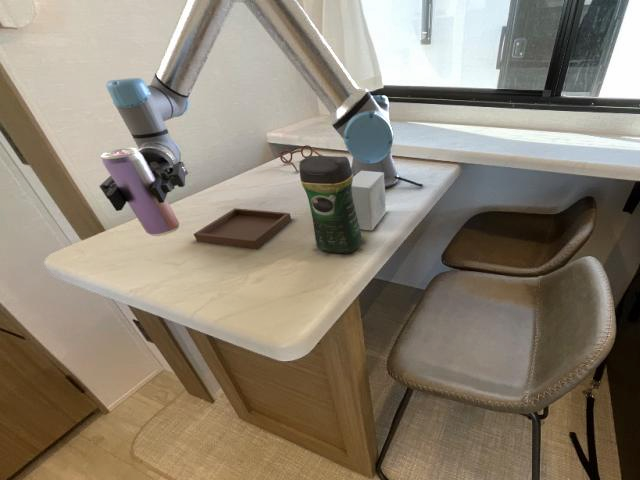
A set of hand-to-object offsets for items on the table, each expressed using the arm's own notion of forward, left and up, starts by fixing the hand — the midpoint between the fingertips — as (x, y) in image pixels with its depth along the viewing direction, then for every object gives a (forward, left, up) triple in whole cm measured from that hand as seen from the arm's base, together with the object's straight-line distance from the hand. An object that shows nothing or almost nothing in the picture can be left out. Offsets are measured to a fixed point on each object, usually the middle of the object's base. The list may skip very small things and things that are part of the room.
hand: (136, 199), depth 55 cm
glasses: (+8, -69, -15) cm, 71 cm away
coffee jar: (-30, -16, -15) cm, 37 cm away
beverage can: (+3, -4, -9) cm, 10 cm away
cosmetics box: (-32, -29, -15) cm, 45 cm away
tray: (-4, -18, -15) cm, 23 cm away
